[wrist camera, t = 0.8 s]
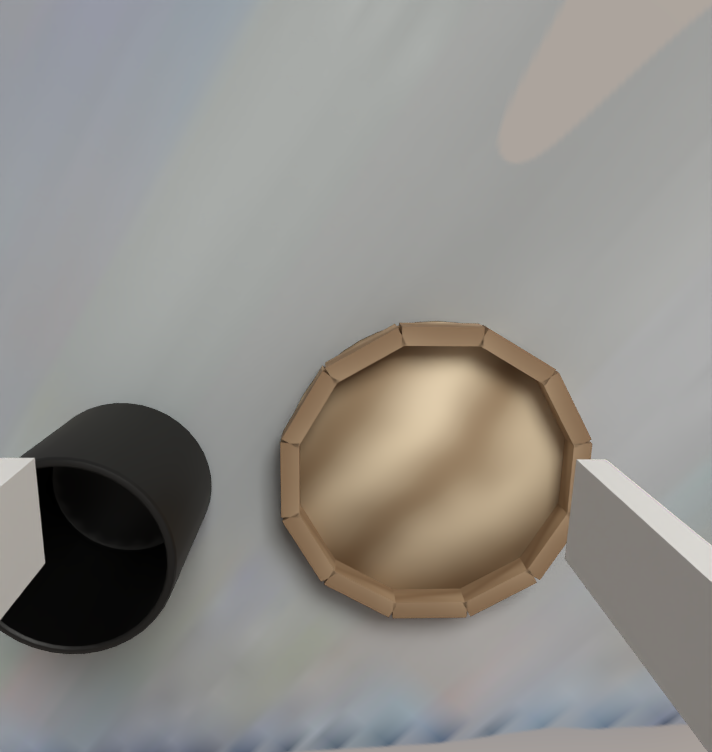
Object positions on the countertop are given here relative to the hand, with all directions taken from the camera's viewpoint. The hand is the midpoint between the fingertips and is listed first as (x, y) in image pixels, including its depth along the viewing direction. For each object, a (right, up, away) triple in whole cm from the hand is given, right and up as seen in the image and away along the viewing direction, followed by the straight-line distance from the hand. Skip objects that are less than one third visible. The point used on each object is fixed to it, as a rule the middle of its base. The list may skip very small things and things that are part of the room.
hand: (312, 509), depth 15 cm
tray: (+5, -2, +21) cm, 22 cm away
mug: (-12, -4, +21) cm, 25 cm away
